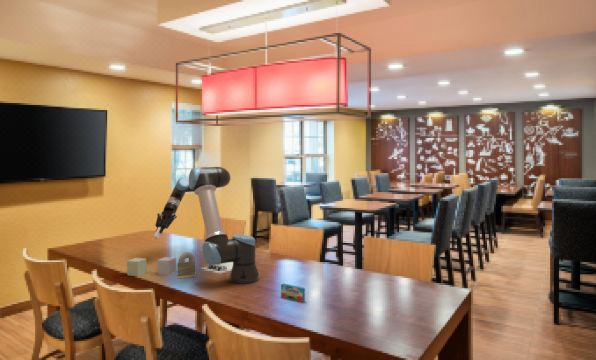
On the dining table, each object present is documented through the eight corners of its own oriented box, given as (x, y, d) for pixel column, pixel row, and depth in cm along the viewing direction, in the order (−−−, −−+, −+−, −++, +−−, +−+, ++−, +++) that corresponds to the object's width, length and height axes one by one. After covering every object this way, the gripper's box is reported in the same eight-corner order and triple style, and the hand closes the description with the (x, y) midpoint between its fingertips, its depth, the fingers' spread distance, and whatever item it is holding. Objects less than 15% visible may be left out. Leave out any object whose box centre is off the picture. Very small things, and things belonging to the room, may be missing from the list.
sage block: (146, 272, 228) (146, 258, 227) (138, 276, 221) (137, 261, 221) (136, 271, 230) (135, 257, 229) (127, 275, 223) (127, 260, 223)
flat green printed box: (304, 301, 183) (304, 287, 183) (302, 302, 182) (302, 288, 182) (282, 296, 190) (282, 283, 189) (280, 297, 188) (280, 284, 188)
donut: (180, 271, 229) (180, 254, 229) (177, 270, 232) (177, 253, 231) (196, 268, 236) (196, 251, 236) (193, 267, 239) (193, 250, 238)
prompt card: (196, 276, 220) (196, 262, 219) (177, 278, 216) (176, 264, 216) (195, 274, 223) (195, 260, 223) (176, 276, 220) (176, 262, 220)
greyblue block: (176, 271, 229) (176, 257, 229) (168, 275, 223) (168, 261, 222) (165, 270, 231) (165, 257, 231) (157, 274, 225) (157, 260, 224)
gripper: (183, 209, 257) (168, 241, 242) (165, 209, 261) (149, 240, 246) (178, 202, 252) (162, 234, 237) (160, 201, 255) (143, 233, 240)
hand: (156, 237), depth 241 cm, fingers closed
